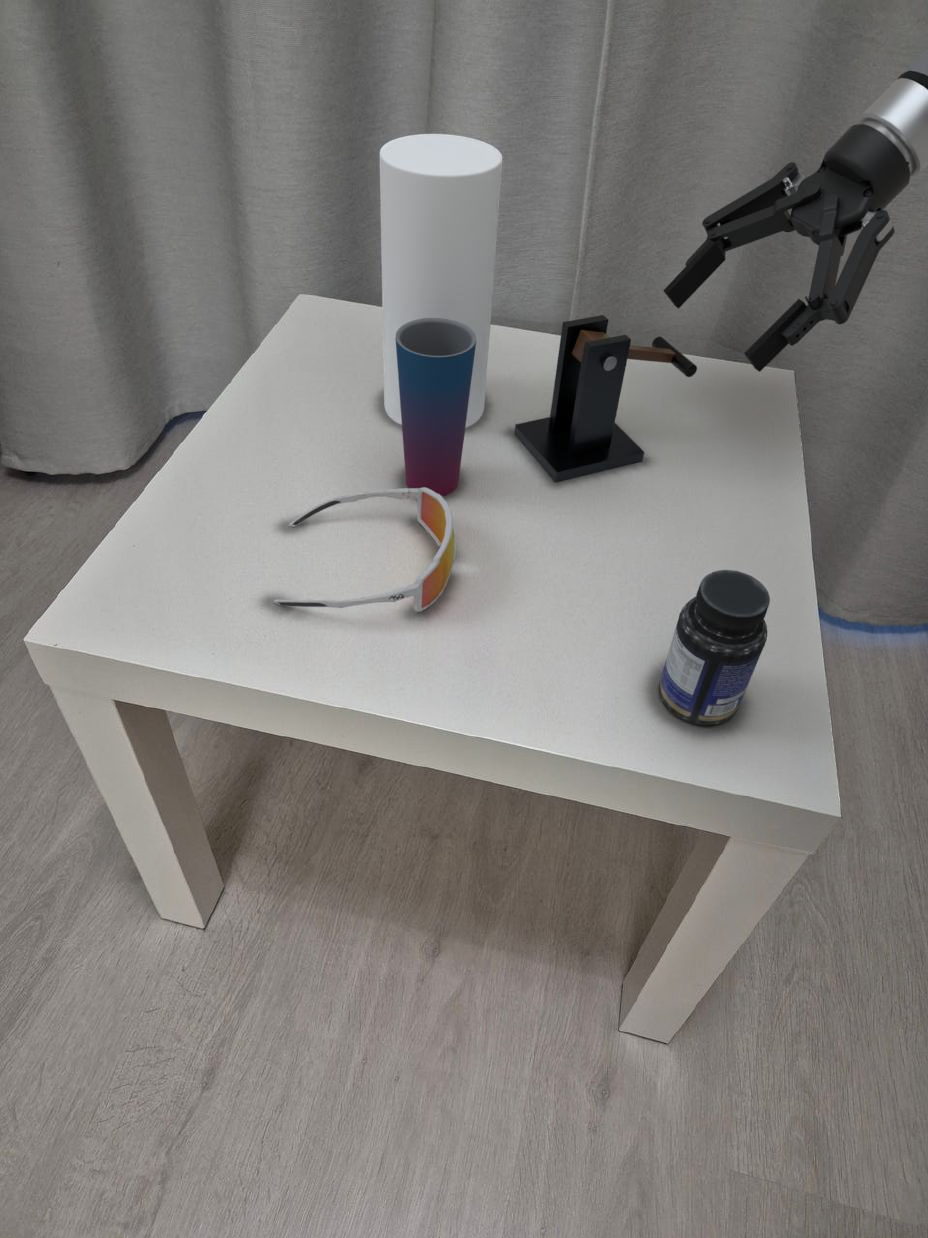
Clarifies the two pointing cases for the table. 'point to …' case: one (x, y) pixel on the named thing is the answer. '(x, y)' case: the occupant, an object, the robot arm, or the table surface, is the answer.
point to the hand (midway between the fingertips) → (709, 330)
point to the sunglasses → (433, 579)
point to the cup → (434, 399)
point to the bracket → (583, 408)
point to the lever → (642, 352)
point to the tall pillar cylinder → (438, 245)
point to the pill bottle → (715, 648)
